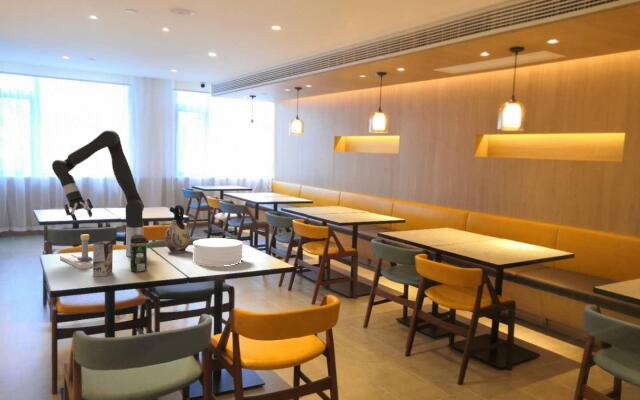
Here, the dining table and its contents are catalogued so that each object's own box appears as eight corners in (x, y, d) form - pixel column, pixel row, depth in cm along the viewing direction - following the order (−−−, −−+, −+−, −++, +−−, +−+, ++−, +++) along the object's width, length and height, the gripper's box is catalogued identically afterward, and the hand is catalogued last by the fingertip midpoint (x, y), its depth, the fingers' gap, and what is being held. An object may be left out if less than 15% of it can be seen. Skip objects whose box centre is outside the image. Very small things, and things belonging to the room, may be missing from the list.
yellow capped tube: (77, 259, 252) (77, 234, 251) (88, 258, 256) (88, 233, 255) (81, 261, 249) (81, 235, 248) (91, 259, 253) (92, 234, 252)
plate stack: (249, 265, 270) (250, 245, 269) (201, 269, 255) (201, 248, 254) (231, 255, 293) (232, 237, 292) (186, 258, 279) (187, 239, 278)
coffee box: (106, 276, 230) (106, 244, 229) (92, 276, 230) (92, 243, 229) (112, 272, 240) (113, 240, 238) (99, 271, 239) (99, 240, 238)
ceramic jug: (159, 251, 295) (160, 203, 293) (180, 248, 307) (181, 202, 304) (174, 255, 284) (175, 206, 282) (196, 252, 296) (197, 205, 293)
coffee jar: (129, 268, 248) (129, 233, 246) (145, 267, 252) (145, 233, 250) (130, 273, 239) (131, 236, 238) (147, 272, 243) (147, 236, 241)
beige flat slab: (60, 259, 262) (60, 255, 262) (80, 257, 270) (80, 253, 270) (80, 268, 243) (80, 264, 243) (102, 266, 251) (102, 261, 251)
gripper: (61, 193, 261) (72, 220, 261) (87, 187, 272) (98, 213, 271) (57, 198, 266) (68, 224, 266) (82, 192, 277) (93, 217, 276)
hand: (83, 218), depth 268 cm, fingers open, 8 cm apart
